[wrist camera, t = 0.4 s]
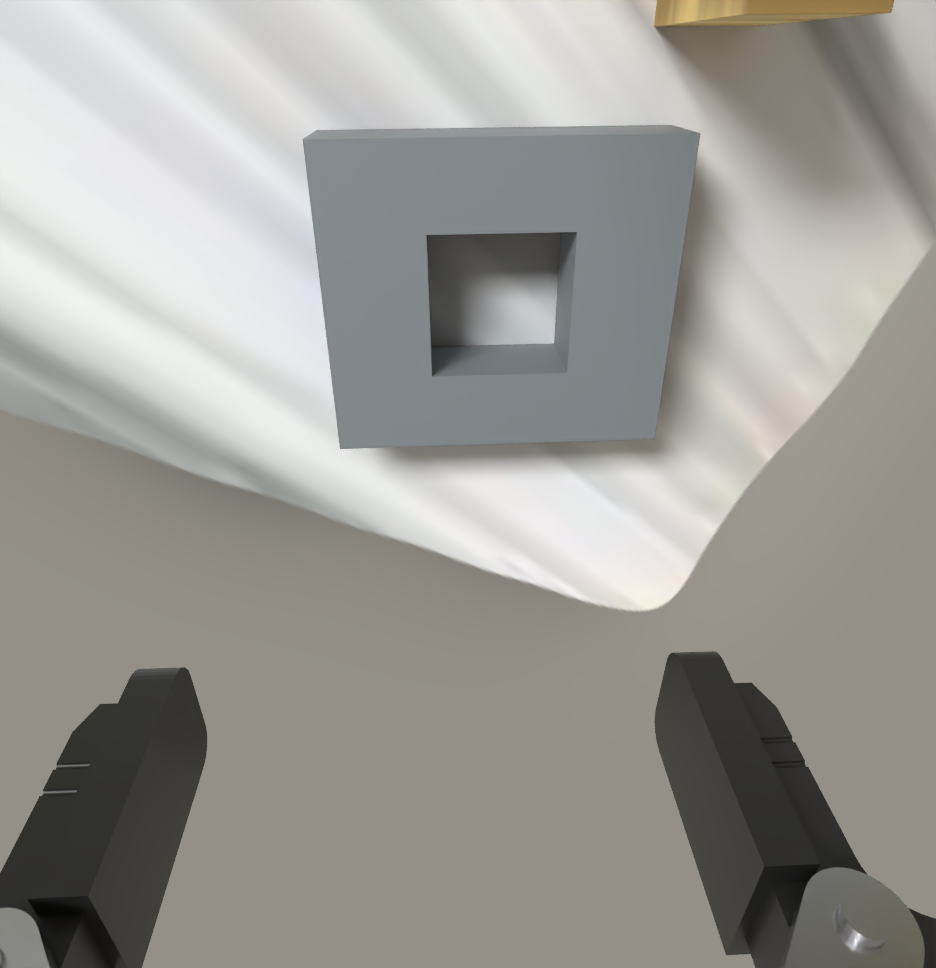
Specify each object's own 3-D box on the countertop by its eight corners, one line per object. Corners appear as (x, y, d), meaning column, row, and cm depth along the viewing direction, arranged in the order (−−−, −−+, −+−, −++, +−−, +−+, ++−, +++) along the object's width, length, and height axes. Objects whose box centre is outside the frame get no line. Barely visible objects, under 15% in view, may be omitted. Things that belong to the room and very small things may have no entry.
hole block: (316, 130, 31) (302, 139, 28) (670, 125, 32) (700, 133, 28) (348, 413, 38) (340, 449, 35) (634, 405, 39) (654, 439, 35)
